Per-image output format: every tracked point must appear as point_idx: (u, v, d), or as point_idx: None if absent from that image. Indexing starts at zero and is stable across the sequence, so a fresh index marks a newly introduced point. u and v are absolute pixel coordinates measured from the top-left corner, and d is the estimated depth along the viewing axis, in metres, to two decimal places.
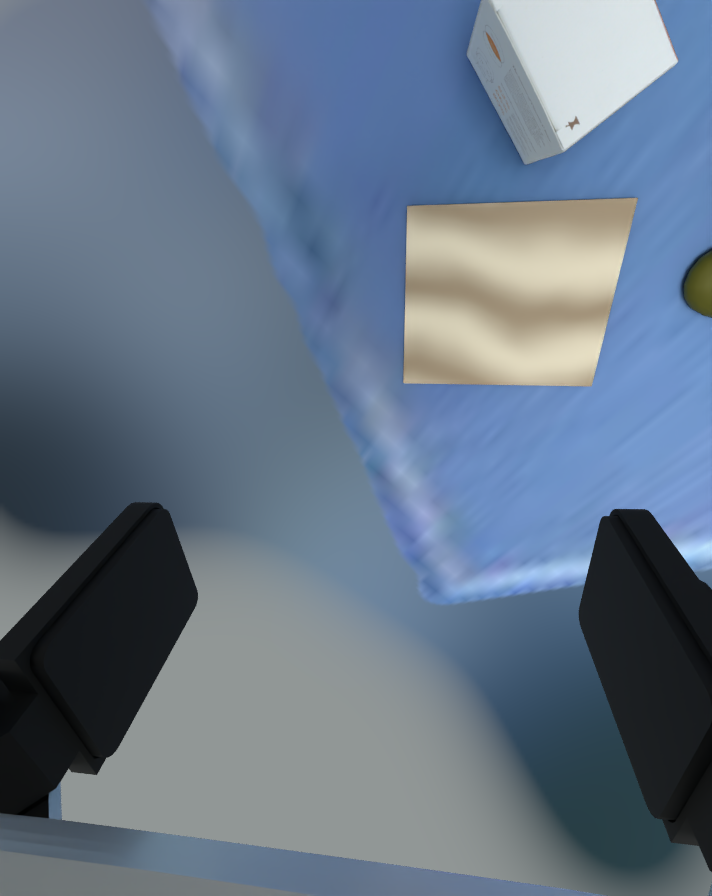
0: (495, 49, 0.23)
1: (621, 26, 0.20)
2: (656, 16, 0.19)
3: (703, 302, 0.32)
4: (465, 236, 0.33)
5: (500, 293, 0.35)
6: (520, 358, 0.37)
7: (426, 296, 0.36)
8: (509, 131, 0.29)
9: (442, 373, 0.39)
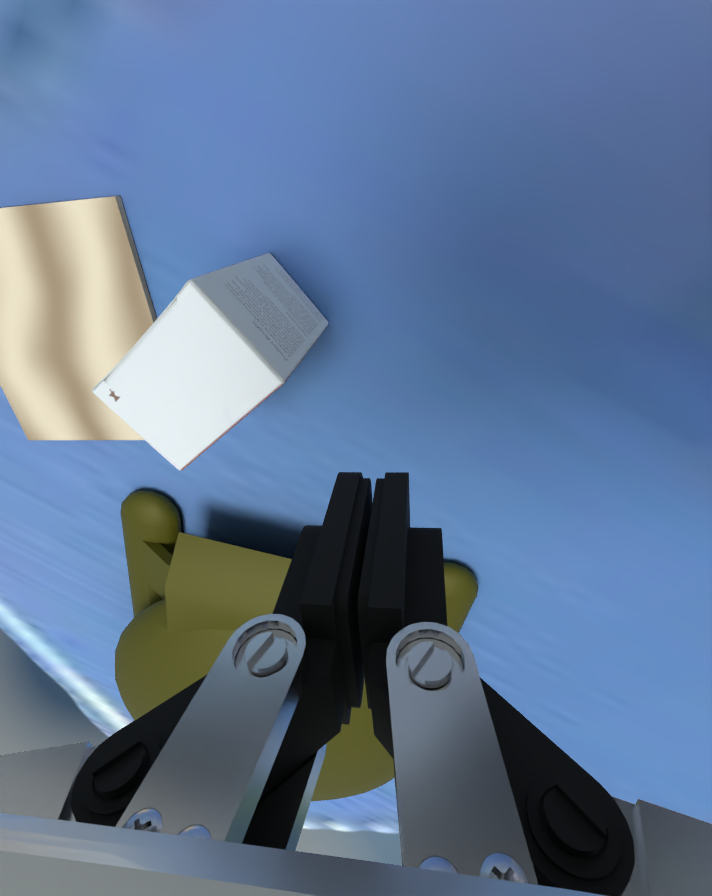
0: None
1: (189, 421, 0.20)
2: (201, 447, 0.21)
3: (125, 509, 0.36)
4: (109, 279, 0.28)
5: (70, 331, 0.30)
6: (18, 365, 0.32)
7: (30, 238, 0.27)
8: None
9: None
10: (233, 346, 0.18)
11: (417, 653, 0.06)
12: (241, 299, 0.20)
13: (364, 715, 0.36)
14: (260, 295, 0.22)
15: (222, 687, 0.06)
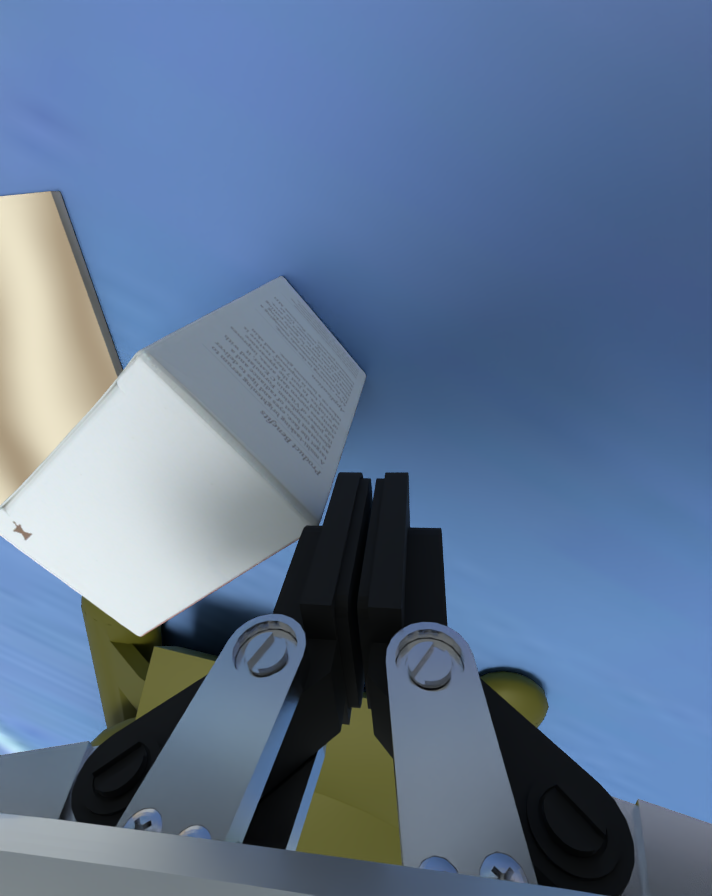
0: None
1: (151, 575, 0.12)
2: (173, 610, 0.13)
3: (86, 602, 0.28)
4: (49, 311, 0.19)
5: (0, 380, 0.22)
6: None
7: None
8: None
9: None
10: (226, 468, 0.10)
11: (417, 653, 0.06)
12: (241, 371, 0.11)
13: None
14: (271, 353, 0.13)
15: (222, 687, 0.06)
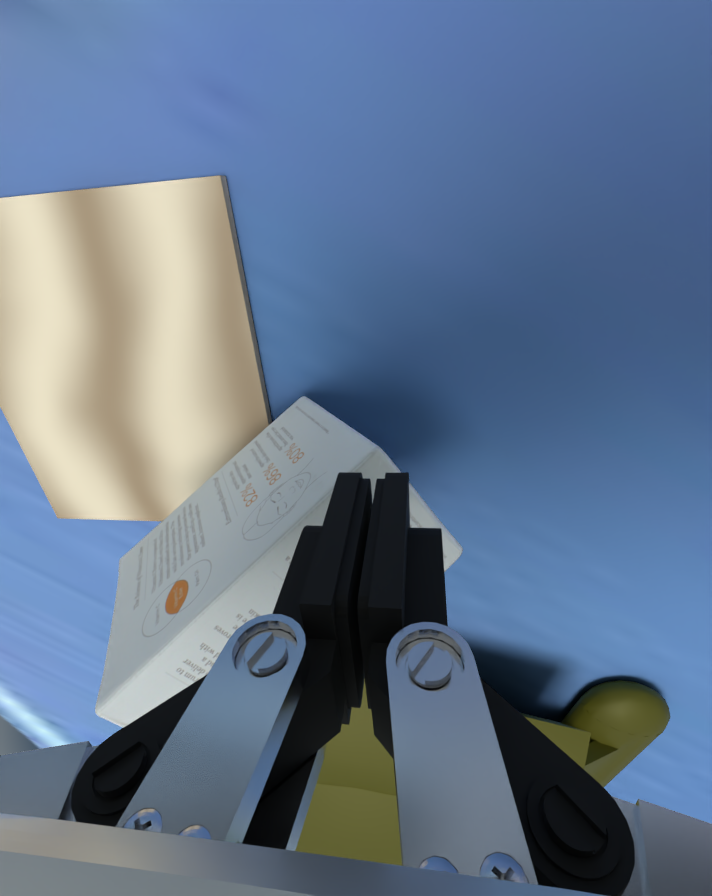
0: (174, 595, 0.13)
1: None
2: None
3: None
4: (195, 304, 0.18)
5: (129, 377, 0.20)
6: (49, 423, 0.22)
7: (78, 241, 0.18)
8: (300, 423, 0.17)
9: None
10: None
11: (417, 653, 0.06)
12: None
13: None
14: None
15: (222, 687, 0.06)
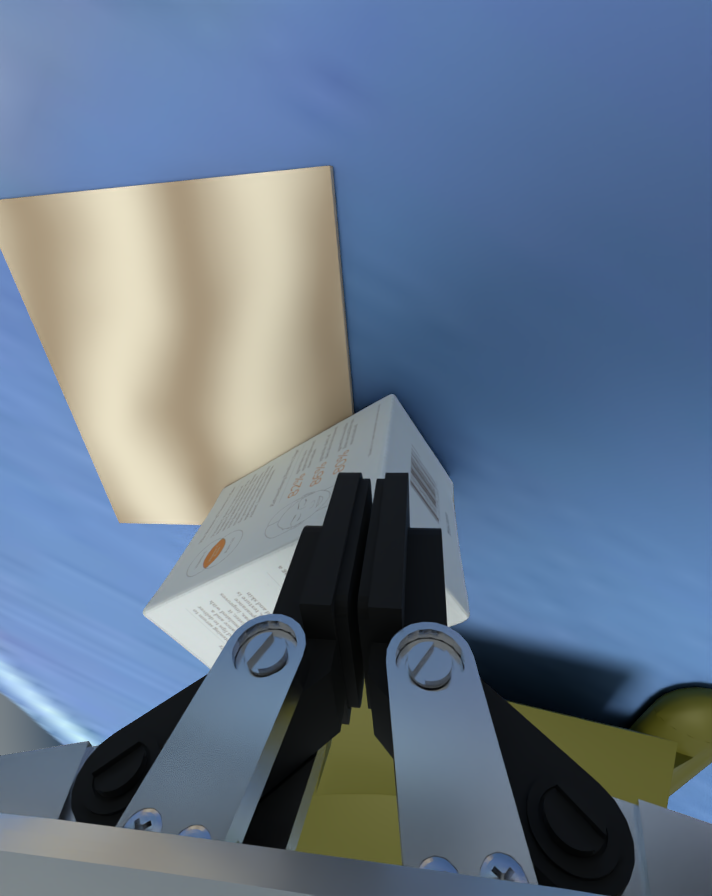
0: (214, 550, 0.17)
1: None
2: None
3: None
4: (289, 301, 0.18)
5: (209, 377, 0.20)
6: (120, 425, 0.22)
7: (169, 235, 0.17)
8: (366, 428, 0.17)
9: (39, 290, 0.19)
10: None
11: (417, 653, 0.06)
12: (215, 623, 0.16)
13: None
14: (261, 610, 0.15)
15: (222, 687, 0.06)
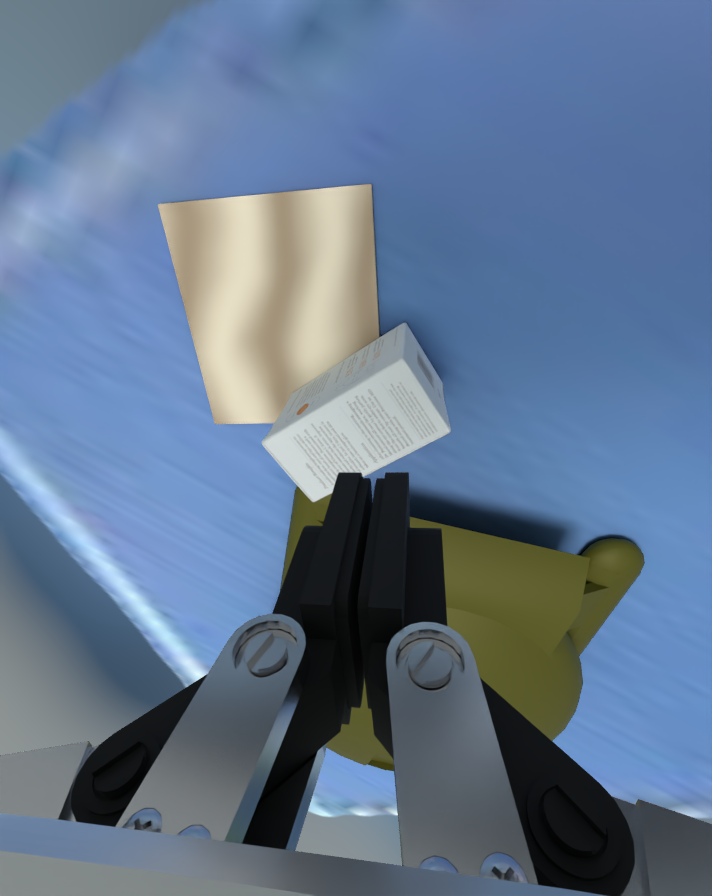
0: (301, 408, 0.28)
1: None
2: None
3: None
4: (343, 264, 0.29)
5: (289, 314, 0.31)
6: (225, 350, 0.33)
7: (273, 224, 0.29)
8: (390, 338, 0.29)
9: (185, 259, 0.30)
10: None
11: (417, 653, 0.06)
12: (305, 446, 0.27)
13: (538, 686, 0.37)
14: (333, 434, 0.27)
15: (222, 687, 0.06)
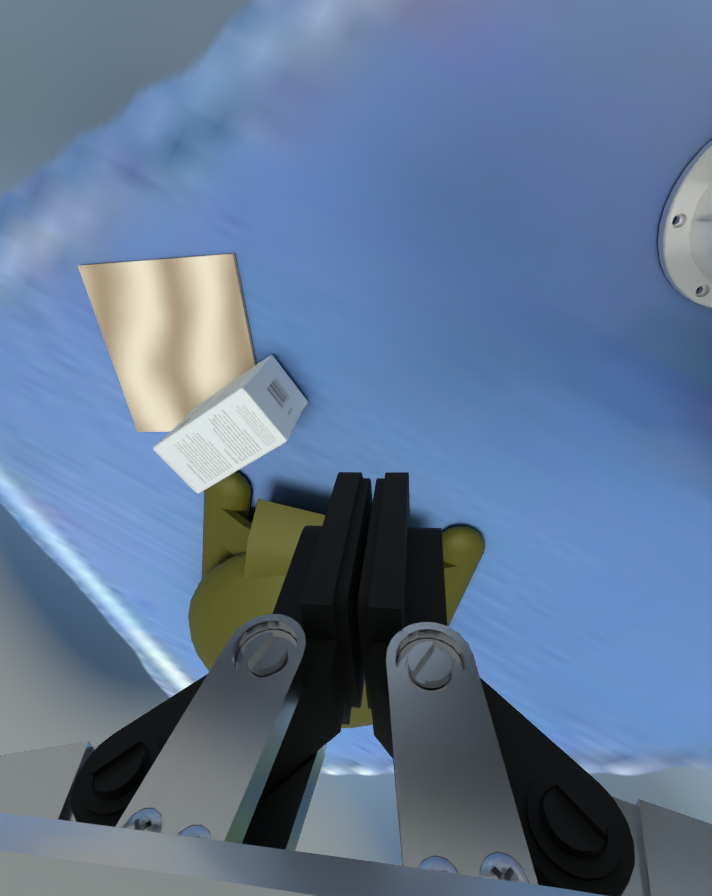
0: (184, 422, 0.37)
1: None
2: None
3: None
4: (220, 311, 0.38)
5: (184, 348, 0.40)
6: (139, 374, 0.42)
7: (164, 281, 0.37)
8: (254, 368, 0.38)
9: (102, 306, 0.39)
10: None
11: (417, 653, 0.06)
12: (184, 451, 0.36)
13: None
14: (203, 442, 0.35)
15: (222, 687, 0.06)
